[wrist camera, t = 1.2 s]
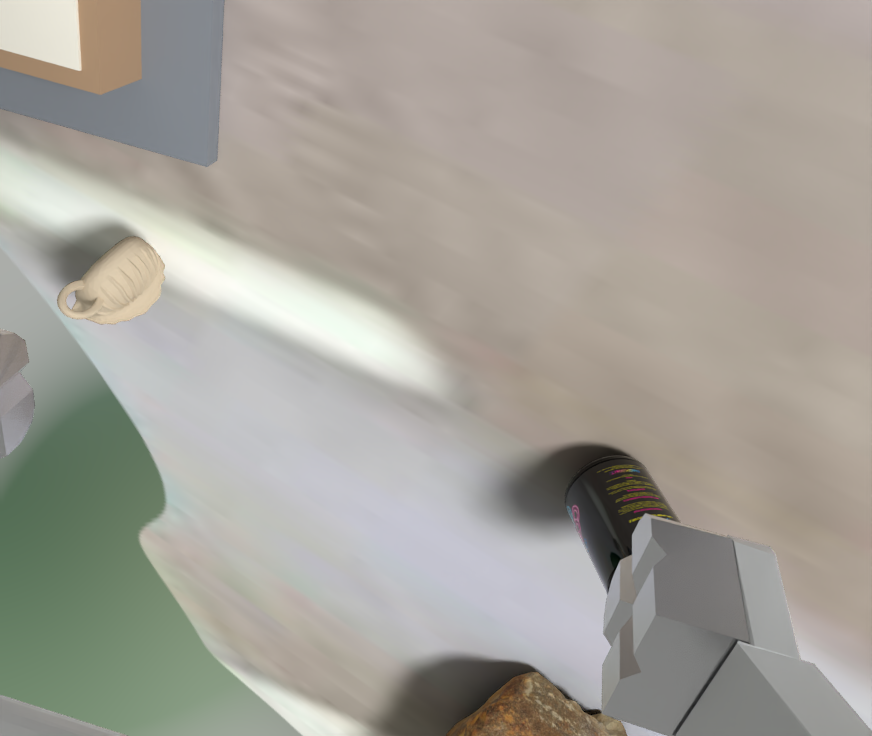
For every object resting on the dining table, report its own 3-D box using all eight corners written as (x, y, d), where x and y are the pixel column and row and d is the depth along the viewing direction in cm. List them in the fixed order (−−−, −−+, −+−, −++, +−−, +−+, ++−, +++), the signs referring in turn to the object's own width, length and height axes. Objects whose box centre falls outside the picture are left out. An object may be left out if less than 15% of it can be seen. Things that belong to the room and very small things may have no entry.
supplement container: (552, 470, 55) (609, 584, 47) (640, 437, 55) (712, 546, 47) (569, 528, 59) (623, 643, 51) (650, 498, 59) (718, 607, 51)
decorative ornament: (184, 277, 55) (173, 237, 51) (96, 357, 52) (75, 321, 47) (142, 245, 56) (127, 202, 51) (52, 322, 52) (27, 283, 48)
